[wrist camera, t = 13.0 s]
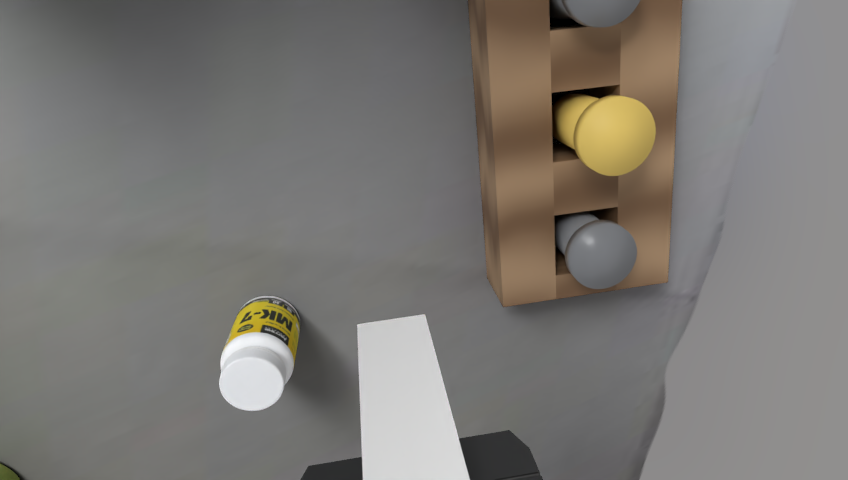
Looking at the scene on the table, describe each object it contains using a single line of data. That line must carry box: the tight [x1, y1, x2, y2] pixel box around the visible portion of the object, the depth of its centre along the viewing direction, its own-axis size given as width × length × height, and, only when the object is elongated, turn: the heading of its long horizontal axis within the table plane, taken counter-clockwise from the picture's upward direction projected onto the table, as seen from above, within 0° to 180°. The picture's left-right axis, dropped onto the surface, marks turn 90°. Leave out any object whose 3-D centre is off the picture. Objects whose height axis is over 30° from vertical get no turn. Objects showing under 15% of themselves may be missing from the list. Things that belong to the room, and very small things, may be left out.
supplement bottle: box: [219, 296, 300, 411], centre depth 41 cm, size 5×5×8 cm
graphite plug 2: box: [554, 211, 637, 289], centre depth 40 cm, size 4×4×7 cm
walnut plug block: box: [468, 0, 682, 307], centre depth 39 cm, size 24×12×5 cm, turn 6°
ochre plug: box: [552, 93, 656, 176], centre depth 36 cm, size 4×4×7 cm
